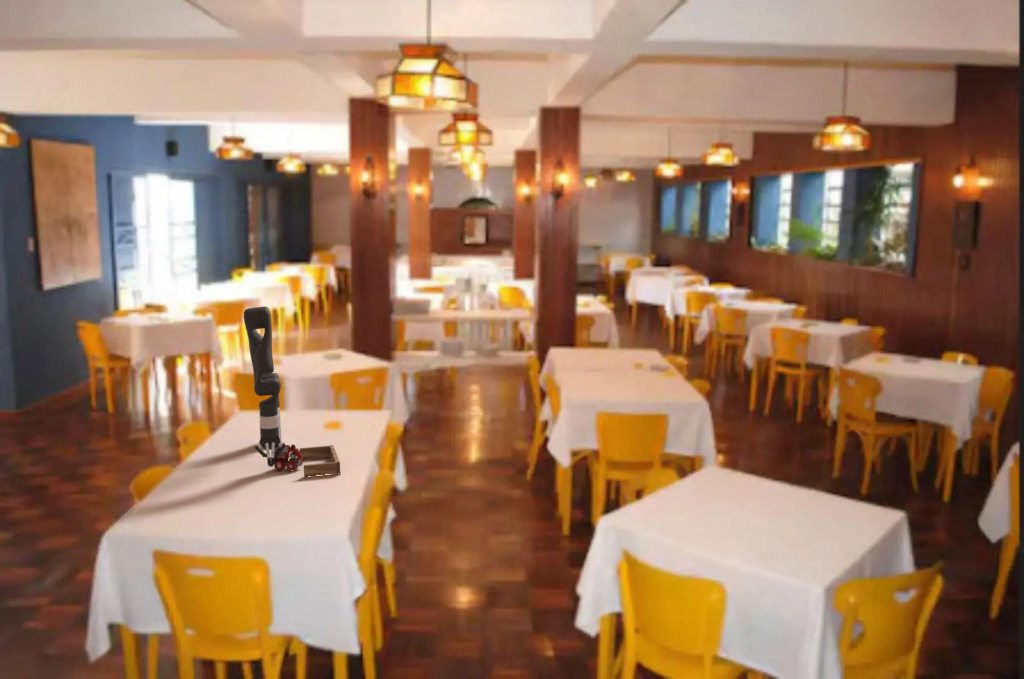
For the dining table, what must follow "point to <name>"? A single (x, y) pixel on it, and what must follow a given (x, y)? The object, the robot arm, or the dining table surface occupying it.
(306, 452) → the open wooden box
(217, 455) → the dining table surface
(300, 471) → the dining table surface
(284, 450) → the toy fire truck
